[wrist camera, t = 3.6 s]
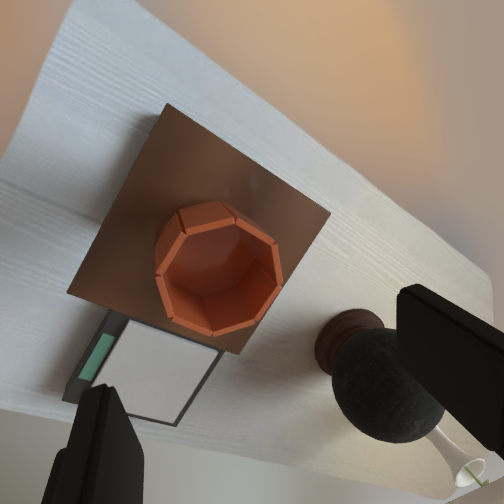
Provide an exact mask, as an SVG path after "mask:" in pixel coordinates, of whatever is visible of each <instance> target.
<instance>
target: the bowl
mask: <svg viewBox="0 0 504 504" xmlns="http://www.w3.org/2000/svg"><path fill="white" fill-rule="evenodd" d="M274 241H275V240H274V239H273V238H272V237H271V236H270V235H268V234H267V233H266V232H265V231H264V230H263V229H262V228H261V227H260V226H258V225H257V224H256V223H255V222H254V221H253V220H252V219H250V218H248V217H247V216H245V215H244V214H242V213H241V212H239V211H238V210H237V209H235V208H233V207H231V206H229V205H228V204H226V203H225V202H223V201H221V203H220V202H219V201H218V200H216V201H212V202H201V203H196V204H193V205H190V206H188V207H185V208H183V209H179V212H175V213H174V215H173V216H172V218H171V219H170V220H169V221H168V222H167V224H166V225H165V227H164V228H163V230H162V232H161V235H160V237H159V239H158V241H157V242H156V244H155V249H154V262H155V280H156V283H157V286H158V289H159V292H160V295H161V298H162V301H163V304H164V308H165V311H166V314H167V317H168V318H170V317H171V321H172V322H175V323H177V324H180V325H182V326H184V327H187V328H189V329H192V330H194V331H196V332H199V333H201V334H204V335H206V336H208V337H210V336H211V335H212V333H213V336H214V337H216V336H219V335H222V334H225V333H228V332H232V331H235V330H238V329H241V328H244V327H247V326H250V325H254V324H255V321H254V320H256V321H259V320H260V318H261V317H262V316H263V314H264V313H265V311H266V310H267V308H268V307H269V306H270V304H271V303H272V301H273V300H274V298H275V297H276V296H277V294H278V293H279V291H280V290H281V288H282V287H281V285H280V284H283V279H282V272H281V266H280V259H279V252H278V246H277V243H275V242H274Z"/></svg>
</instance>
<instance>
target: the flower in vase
mask: <svg viewBox="0 0 504 504" xmlns="http://www.w3.org/2000/svg"><path fill="white" fill-rule="evenodd" d="M425 437H426V438H428V439H429V440H430V441H431V442H432V443H433V444H434V445H435V447H436V448H437V449H438V450H439V452H440V453H441V454H442V456H443V457H444V458H445V460H446V462H447V463H448V465H449V467H450V469H451V471H452V474H453V478H454V483H455V485H456V486H458V487H464V486H467V485H470V484H471V483H473V482H474V481H477V482H478V483H479V485H480V486H481V487H482V486H485V485H487V484H488V481H489V480H488V479H487V480H486V481H485V482H484V483H483V484H482V483H481V482H480V481H479V480H478V478H479V477H480V475H481V474H482V473H483V471H484V469H485V466H486V464H485V461H484V460H483V459H481V458H477V457H474V456H472V455H470V454H468V453H466V452H464V451H463V450H462V449H460V448H459V447H458V446H457V445H455V444H454V443H453V442H452V441H451V440H450V439H449V438H448V437H447V436H446V435H445V434H444V433H443V432H442V431H441V430H440V428H439V427H438V426H437V425H436V427H435V428H434V429H433V430H432V431H431V432H430V433H428V434H427V435H425Z"/></svg>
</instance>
